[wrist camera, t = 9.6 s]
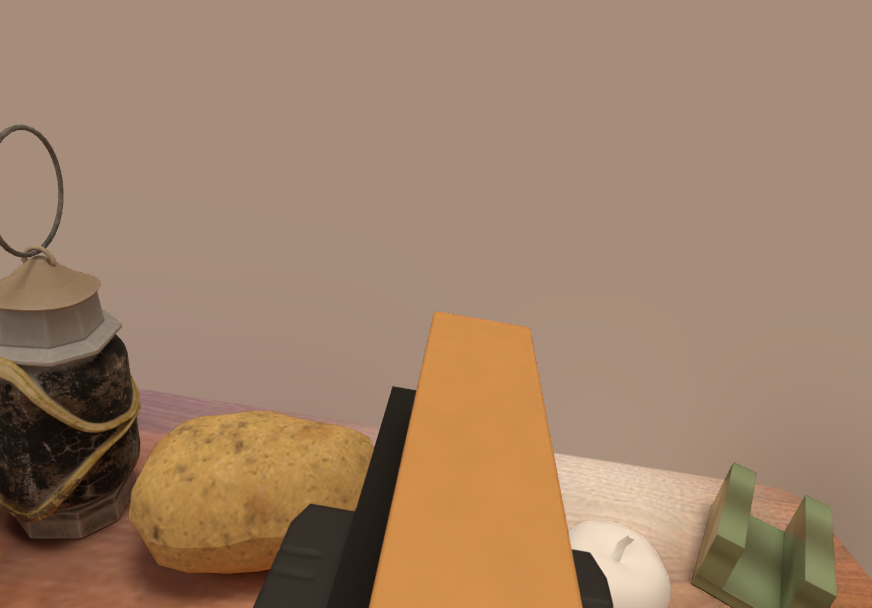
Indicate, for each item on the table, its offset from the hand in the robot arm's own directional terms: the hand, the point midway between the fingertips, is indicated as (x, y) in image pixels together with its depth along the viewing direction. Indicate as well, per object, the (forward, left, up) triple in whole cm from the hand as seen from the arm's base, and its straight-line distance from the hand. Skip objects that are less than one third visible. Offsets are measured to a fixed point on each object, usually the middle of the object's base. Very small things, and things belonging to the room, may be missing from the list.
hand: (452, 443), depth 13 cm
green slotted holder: (+4, -32, -22) cm, 39 cm away
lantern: (+24, +13, -22) cm, 35 cm away
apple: (+5, -17, -22) cm, 29 cm away
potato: (+17, +2, -22) cm, 28 cm away
